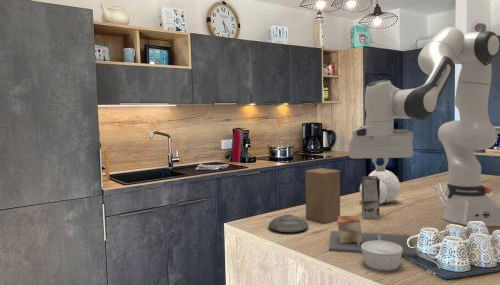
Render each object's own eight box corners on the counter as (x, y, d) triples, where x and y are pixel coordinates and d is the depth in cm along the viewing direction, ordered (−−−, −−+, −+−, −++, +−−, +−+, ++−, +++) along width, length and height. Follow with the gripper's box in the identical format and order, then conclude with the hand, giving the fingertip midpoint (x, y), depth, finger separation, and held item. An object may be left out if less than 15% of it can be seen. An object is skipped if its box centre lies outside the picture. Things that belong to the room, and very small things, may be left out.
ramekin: (362, 271, 104) (362, 252, 104) (359, 256, 115) (359, 239, 115) (406, 274, 102) (406, 254, 102) (398, 258, 113) (398, 240, 113)
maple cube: (338, 216, 131) (340, 236, 131) (337, 222, 124) (340, 243, 124) (359, 214, 129) (361, 235, 129) (359, 220, 122) (362, 242, 123)
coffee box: (380, 219, 154) (380, 179, 153) (363, 218, 155) (363, 179, 154) (377, 213, 163) (377, 175, 162) (361, 212, 164) (361, 175, 163)
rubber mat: (408, 237, 131) (408, 233, 131) (418, 256, 114) (418, 252, 114) (331, 233, 137) (331, 229, 137) (329, 250, 120) (329, 246, 120)
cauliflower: (375, 179, 196) (380, 157, 184) (405, 199, 185) (413, 177, 174) (349, 200, 187) (353, 178, 176) (379, 223, 177) (385, 201, 166)
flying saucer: (316, 230, 142) (316, 215, 142) (284, 238, 134) (284, 222, 134) (291, 221, 155) (291, 207, 154) (260, 227, 147) (260, 213, 146)
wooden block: (321, 214, 163) (321, 167, 161) (340, 219, 155) (340, 170, 154) (305, 218, 157) (304, 170, 155) (324, 223, 149) (324, 173, 147)
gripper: (411, 128, 127) (412, 169, 128) (347, 130, 131) (349, 170, 133) (415, 129, 120) (415, 172, 122) (348, 131, 125) (349, 173, 126)
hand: (380, 171), depth 127 cm, fingers closed
